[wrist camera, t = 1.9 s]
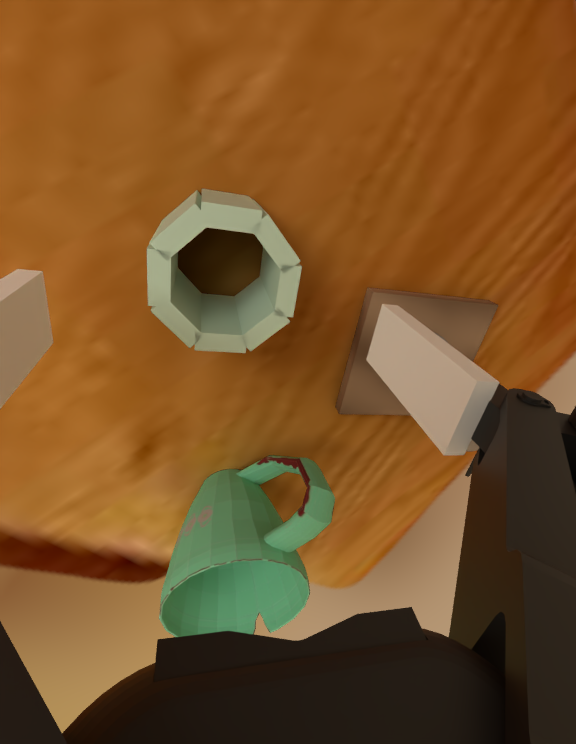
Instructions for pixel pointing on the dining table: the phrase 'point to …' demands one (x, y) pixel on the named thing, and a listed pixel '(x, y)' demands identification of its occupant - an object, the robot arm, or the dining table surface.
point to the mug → (243, 552)
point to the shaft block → (437, 312)
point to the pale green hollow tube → (220, 312)
